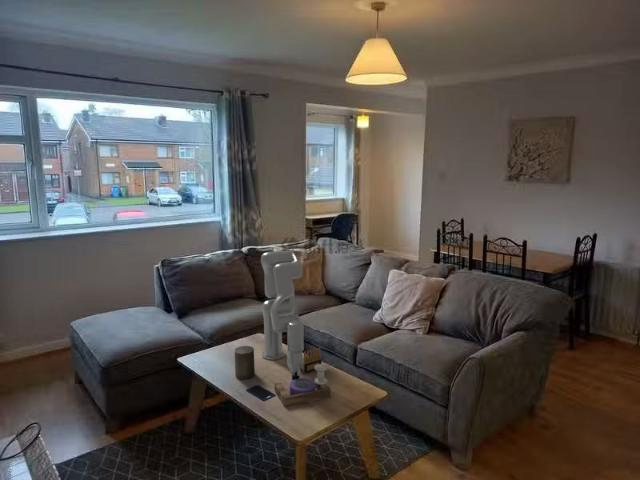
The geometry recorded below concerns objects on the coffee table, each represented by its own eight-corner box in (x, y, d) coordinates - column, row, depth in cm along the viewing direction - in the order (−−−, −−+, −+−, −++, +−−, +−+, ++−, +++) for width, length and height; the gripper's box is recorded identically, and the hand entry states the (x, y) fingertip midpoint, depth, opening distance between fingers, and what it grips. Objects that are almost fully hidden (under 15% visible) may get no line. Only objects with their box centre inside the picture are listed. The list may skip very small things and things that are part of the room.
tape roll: (314, 387, 221) (314, 377, 220) (316, 399, 209) (316, 389, 208) (289, 388, 219) (289, 378, 218) (290, 401, 208) (290, 390, 207)
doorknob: (312, 380, 218) (312, 365, 217) (324, 378, 221) (324, 363, 219) (317, 386, 213) (317, 370, 212) (329, 383, 215) (329, 368, 214)
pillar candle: (258, 375, 232) (257, 346, 229) (242, 381, 225) (241, 352, 222) (247, 369, 239) (246, 341, 236) (231, 375, 232) (230, 346, 229)
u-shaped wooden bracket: (274, 391, 216) (274, 383, 215) (318, 383, 224) (318, 375, 223) (284, 406, 203) (284, 398, 202) (330, 397, 211) (330, 389, 210)
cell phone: (263, 402, 207) (263, 400, 207) (245, 391, 217) (245, 389, 217) (276, 396, 212) (276, 394, 212) (257, 385, 222) (257, 384, 222)
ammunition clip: (304, 374, 233) (304, 351, 231) (302, 372, 235) (302, 350, 233) (321, 368, 239) (321, 346, 237) (319, 367, 241) (319, 345, 239)
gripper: (283, 341, 223) (283, 377, 227) (293, 354, 210) (293, 391, 213) (297, 339, 226) (297, 374, 229) (308, 351, 213) (308, 388, 216)
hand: (295, 382), depth 221 cm, fingers closed
